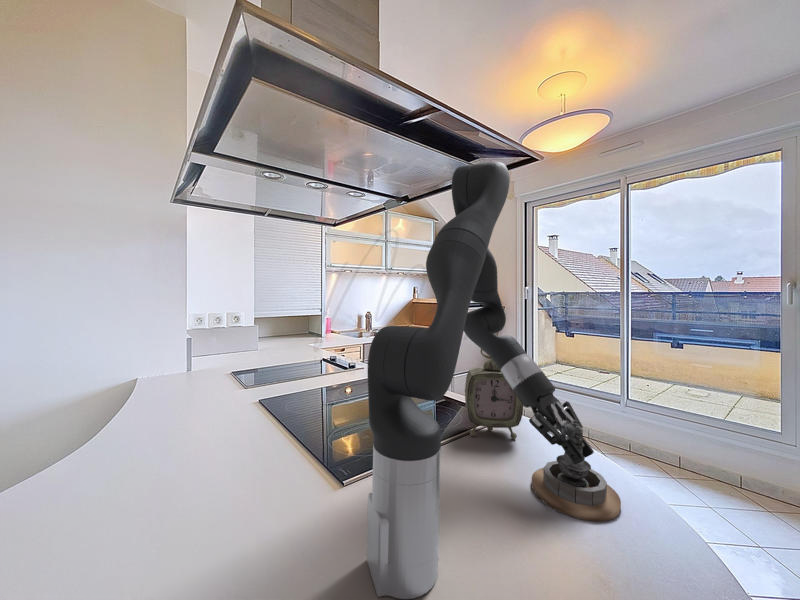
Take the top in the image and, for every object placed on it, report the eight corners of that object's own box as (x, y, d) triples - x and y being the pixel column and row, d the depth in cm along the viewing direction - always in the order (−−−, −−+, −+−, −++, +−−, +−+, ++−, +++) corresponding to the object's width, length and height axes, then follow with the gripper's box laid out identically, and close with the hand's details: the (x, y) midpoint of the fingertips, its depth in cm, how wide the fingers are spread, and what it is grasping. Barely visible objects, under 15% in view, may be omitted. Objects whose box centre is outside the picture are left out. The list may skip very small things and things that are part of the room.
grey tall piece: (557, 485, 60) (559, 422, 60) (554, 469, 66) (556, 411, 65) (593, 493, 58) (595, 427, 58) (587, 476, 63) (589, 416, 63)
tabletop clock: (466, 438, 85) (468, 344, 84) (463, 425, 94) (465, 340, 93) (522, 442, 83) (525, 347, 83) (514, 428, 92) (516, 342, 92)
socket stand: (576, 529, 52) (577, 506, 52) (515, 479, 66) (515, 461, 66) (640, 510, 57) (641, 490, 57) (570, 467, 71) (571, 451, 71)
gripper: (520, 374, 63) (585, 462, 53) (554, 366, 72) (615, 439, 62) (496, 394, 67) (552, 479, 58) (531, 384, 76) (584, 455, 67)
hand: (584, 458), depth 60 cm, fingers closed on grey tall piece, 3 cm apart
